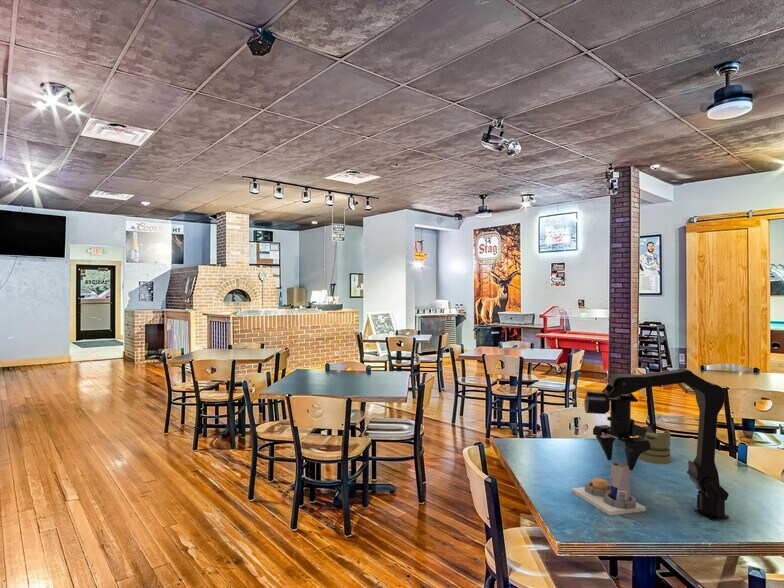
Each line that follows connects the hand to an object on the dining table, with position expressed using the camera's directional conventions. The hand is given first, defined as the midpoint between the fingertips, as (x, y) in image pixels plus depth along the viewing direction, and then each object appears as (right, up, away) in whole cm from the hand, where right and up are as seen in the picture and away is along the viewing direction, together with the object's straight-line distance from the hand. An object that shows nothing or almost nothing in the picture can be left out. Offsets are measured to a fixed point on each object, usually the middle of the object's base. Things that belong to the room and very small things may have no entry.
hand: (620, 464), depth 148 cm
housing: (-2, -13, +4) cm, 14 cm away
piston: (+36, -14, +45) cm, 60 cm away
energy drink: (0, -12, 0) cm, 12 cm away
